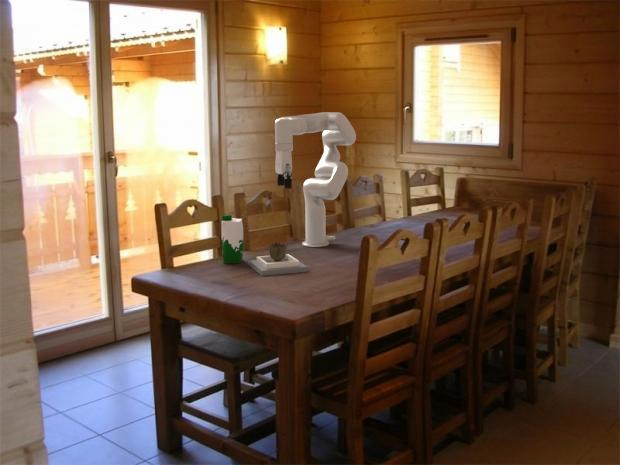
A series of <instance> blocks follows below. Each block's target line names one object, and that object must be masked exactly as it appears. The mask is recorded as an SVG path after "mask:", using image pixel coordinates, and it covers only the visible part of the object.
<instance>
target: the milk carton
mask: <svg viewBox="0 0 620 465" xmlns="http://www.w3.org/2000/svg"><path fill="white" fill-rule="evenodd" d="M221 216H222V218H221V254H222V260H223V264H241V262H242V261H243V255H244V224H243V219H242V218H236V217H233V215H232V214H227V213H225V214H222V215H221Z"/></svg>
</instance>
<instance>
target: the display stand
mask: <svg viewBox="0 0 620 465" xmlns="http://www.w3.org/2000/svg"><path fill="white" fill-rule="evenodd" d="M273 261H274V260H273V259H272V258H271V257H270V255H263V256H262V255H261V256H256V259H252V260H248V266H249V267H250V268H252V269H253V270H254V271H255V272H257V273H258V274H259V275H260V276H262V277H264V276H274V275H275V276H277V275H284V274H285V275H287V274H296V273H297V274H298V273H306V272H307V273H308V266H307V265H305V264H304V263H303V262H301V261H300V260H298V258H296V257H294V256H292V255H291V254H289V253H288V254H287V253H286V255H285V258H284V259H282V262H276V263H274V262H273Z"/></svg>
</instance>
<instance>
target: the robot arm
mask: <svg viewBox="0 0 620 465" xmlns="http://www.w3.org/2000/svg"><path fill="white" fill-rule="evenodd" d="M317 132H322V134H321V140H322V146H323V147H322V148H323V153H322V155H321V158H320V159H319V161H318V163H317V166H316V168H314V169H315V170H314V176H315V177H310V178H307V179H305V181H304V182H303V185H302V191H303V192H302V193H303V197H304V206H305V207H304V208H305V209H304V210H305V214H304V215H305V216H304V219H305V222H304V224H305V233H304V234H305V240H304V241H302V242H301V245H302V246H304V247H309V248H322V247H327V246H329V245H330V242H329V241H335V240H336V235H327V234H326V233H327V232H326V222H327V221H326V214H327V212H326V211H327V210H326V206H325V202H324V200H329V201H332V200H333V201H334V200H335V199H337V198H338V196H339V195H340V193H341V191H342V189H343V187H344V186H345V183H346V181H347V179H348V177H349V176H348V175H349V168H348V165H347V164H346V163H344V162H343V161H341V154H340V151H339V150H338V147H337V146H352V145H353V144H355V142H356V140H357V133H356V131H355V129H354V127H353V125H352V124H351V123H350V121H349V119H348V118H347V116H346V115H344V114H343V113H342V112H337V111H336V112H335V111H333V112H331V111H330V112H329V111H328V112H327V111H326V112H324V111H323V112H317V113H308V114H307V113H306V114H298V115H291V116H288V115H287V116H282V117H279V118H277V119H275V122H274V133H275V134H274V135H275V136H274V138H275V140H274V144H275V145H274V146H275V148H274V149H275V151H274V152H275V164H274V165H275V166H274V167H275V170H274V171H275V173H276V176H277V177H276V178H277V182H276V183H277V187H278V186H283V188H284V189H292V186H293V185H292V182H293V178H292V177H293V176H292V175H293V159H292V158H293V157H292V155H293V154H292V151H294V145H293V144H294V142H293V141H294V140H293V138H294V137H293V136H300V135H304V134H313V133H317Z"/></svg>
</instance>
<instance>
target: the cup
mask: <svg viewBox="0 0 620 465" xmlns="http://www.w3.org/2000/svg"><path fill="white" fill-rule="evenodd" d="M287 246H288V245H287V243H285V242H283V243H282V244H281V242H275V243H269V244H268V252H269V256H270V257H271V258H272V259H273V260H274V261H273V262H274V263H276V262H282V259H284V258H285V255H286V254H287Z"/></svg>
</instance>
